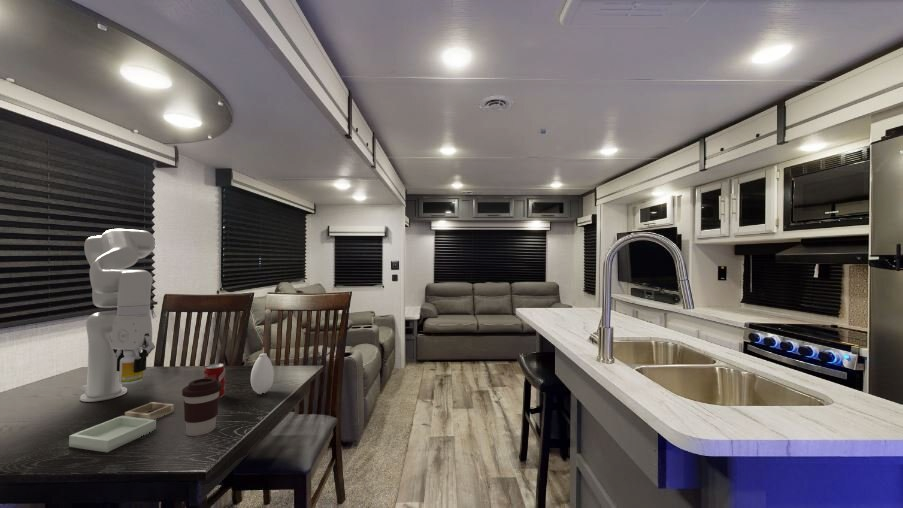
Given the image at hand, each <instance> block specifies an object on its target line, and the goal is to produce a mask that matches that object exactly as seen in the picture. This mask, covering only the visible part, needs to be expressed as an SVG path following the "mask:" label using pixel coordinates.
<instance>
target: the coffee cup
mask: <svg viewBox="0 0 903 508" xmlns="http://www.w3.org/2000/svg"><path fill="white" fill-rule="evenodd" d="M221 389H222V383H220V382H217V380H216V379H214V378H204V377H203V378H198V379H194V380H192V381H190V382H189V383H188V385H187V386H185V387H183V388H182V390H181V395H182V396H183V397H184V400H183V412H184V414H183V415H184V417H183V418H184V422H185V434H186V435H187V436H188V437H200V436H203V435H207V434H209V433H211V432H212V431H214V430H215V429H216V426H217V425H216V423H217V417H218V416H217V415H218V413H219V406H220V405H219V403H220V398H219V397H220V395H219V391H220V390H221Z"/></svg>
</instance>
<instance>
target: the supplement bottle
mask: <svg viewBox="0 0 903 508" xmlns="http://www.w3.org/2000/svg"><path fill="white" fill-rule="evenodd" d="M141 352H142V350H140V353H141ZM123 355H124V357H123V358H121V360H120V372H119V383H120V384H122V385H132V384H136V383H140V382H142V381H143V380H144V371H141V372H137V373H134V359H136V355H135V351H134V350H124V351H123Z"/></svg>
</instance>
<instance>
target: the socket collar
mask: <svg viewBox="0 0 903 508" xmlns="http://www.w3.org/2000/svg"><path fill="white" fill-rule="evenodd" d="M174 406H175V404H174V403H173V404H172V403H164V402H155V401H151V402H149V403H146V404H143V405H140V406H138V407H135V408H132V409H129V410H128V411H125V412H124V416H128V417H136V418H144V419H152V420H154V419H155V420H158V419H159V417H160V418H162V417H165V416H167V415H169V414H171V413H174V409H175V407H174ZM149 411H150V412H149ZM164 415H165V416H164ZM157 418H158V419H157Z"/></svg>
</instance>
